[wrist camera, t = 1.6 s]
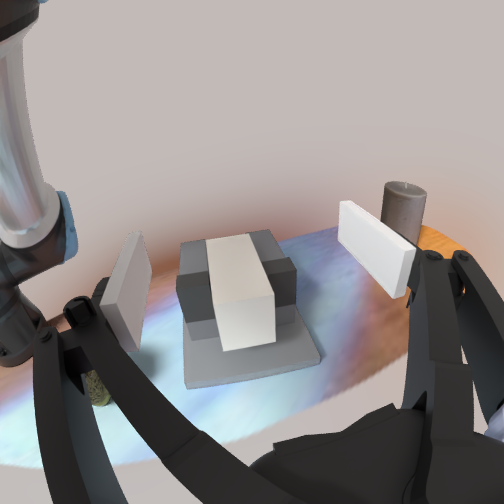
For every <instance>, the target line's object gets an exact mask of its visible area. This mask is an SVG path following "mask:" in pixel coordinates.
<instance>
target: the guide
mask: <svg viewBox="0 0 504 504" xmlns="http://www.w3.org/2000/svg"><path fill="white" fill-rule="evenodd" d="M248 233H249V235H250V238H251V240H252V242H253V245H254V247H255V250H256V252H257V254H258V257H259V259H260V261H261V264H262V266H263V269H264V271H265V273H266V276H267V278H268V280H269V283H270V285H271V287H272V290H273V292H274V297H275V332H276V342H272V343H267V344H262V345H257V346H252V347H246V348H241V349H235V350H229V351H223V347H222V343H221V339H220V334H219V330H218V325H217V320H216V316H215V311H214V306H213V299H212V291H211V283H210V274H209V265H208V255H207V247H206V242H205V239H203V240H197V241H191V242H185V243H181V250H180V264H179V265H180V266H179V275H178V276H177V280H176V292H177V295H178V299H179V302H180V306H181V309H182V312H183V356H184V383H185V385H186V388H187V389H196V388H204V387H211V386H218V385H224V384H231V383H236V382H242V381H248V380H253V379H258V378H263V377H268V376H272V375H277V374H281V373H286V372H290V371H294V370H298V369H302V368H306V367H310V366H314V365H317V364H320V358H321V357H320V355H319V352H318V350H317V348H316V346H315V344H314V342H313V340H312V338H311V336H310V334H309V332H308V330H307V328H306V326H305V324H304V321H303V319H302V317H301V315H300V313H299V311H298V309H297V307H296V271H297V270H296V268H295V266H294V264H293V263H292V261H291V260H290V258H289V257H288V258H286V257H285V256H284V254H283V252H282V251H281V249H280V247H279V245H278V244H277V242H276V240H275V239H274V237H273V235H272V234H271V232H270V230H262V231H255V232H248ZM248 233H245V234H248Z"/></svg>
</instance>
